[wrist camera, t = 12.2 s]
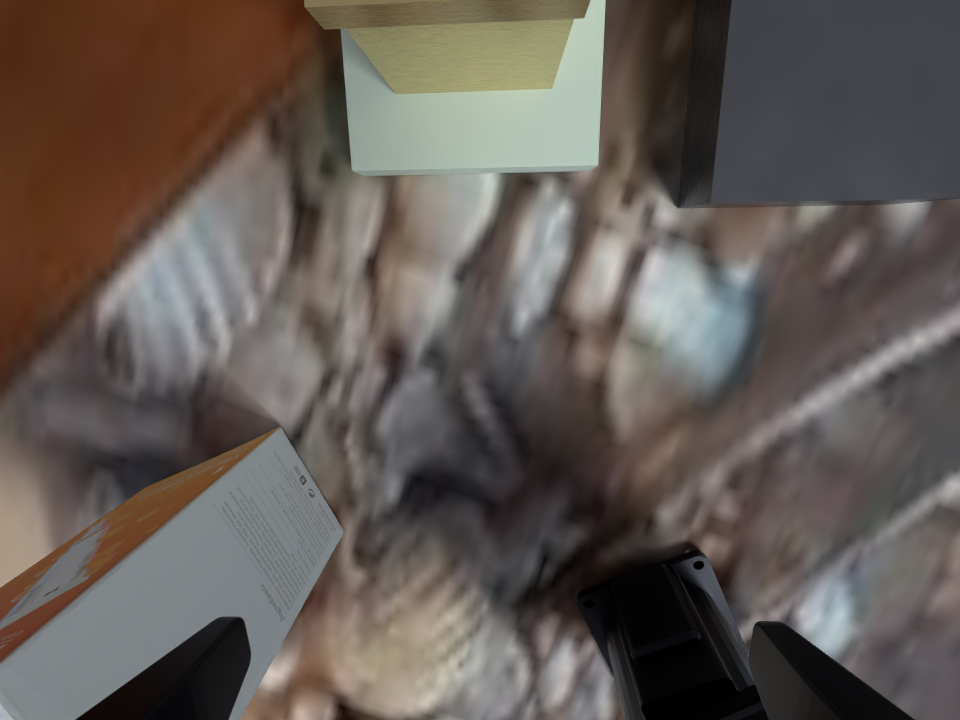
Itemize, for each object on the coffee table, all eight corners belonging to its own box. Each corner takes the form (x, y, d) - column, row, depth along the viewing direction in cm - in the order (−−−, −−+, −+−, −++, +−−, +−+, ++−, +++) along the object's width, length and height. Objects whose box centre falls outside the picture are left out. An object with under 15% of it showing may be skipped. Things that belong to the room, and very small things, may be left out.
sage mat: (590, 170, 18) (598, 165, 17) (363, 176, 19) (351, 170, 17) (602, -111, 16) (612, -146, 15) (343, -97, 17) (328, -129, 15)
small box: (282, 421, 22) (-22, 674, 9) (347, 531, 23) (161, 883, 11) (143, 483, 23) (-291, 781, 10) (213, 584, 24) (-97, 956, 12)
